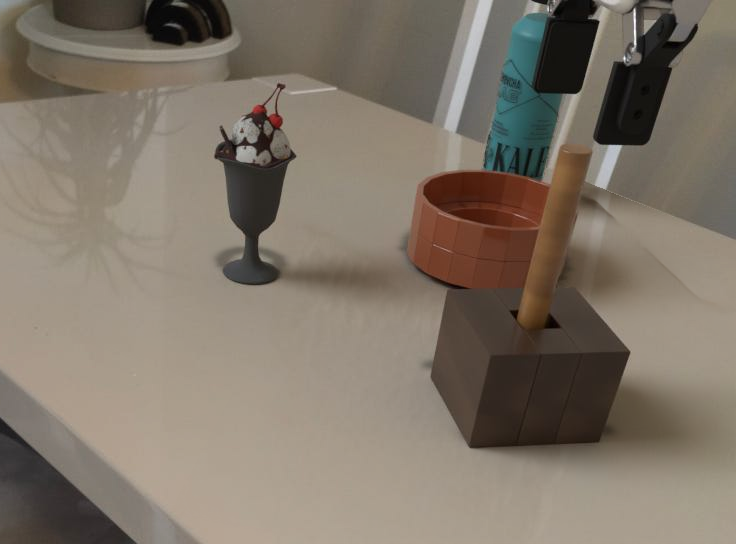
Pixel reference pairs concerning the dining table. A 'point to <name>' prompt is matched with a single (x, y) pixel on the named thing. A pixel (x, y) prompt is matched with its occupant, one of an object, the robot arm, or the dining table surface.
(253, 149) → the sundae
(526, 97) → the beverage bottle
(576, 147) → the stick
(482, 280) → the bowl
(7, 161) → the dining table surface
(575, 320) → the holder
